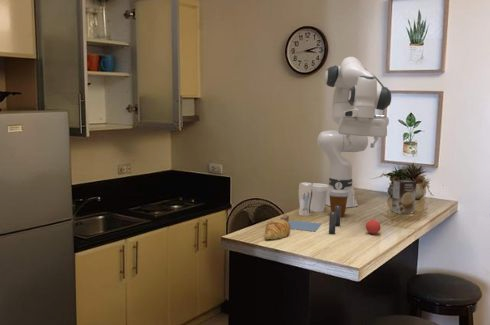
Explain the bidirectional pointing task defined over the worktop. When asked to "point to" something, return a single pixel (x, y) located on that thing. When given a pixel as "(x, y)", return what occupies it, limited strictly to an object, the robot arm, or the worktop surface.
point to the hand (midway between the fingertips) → (360, 146)
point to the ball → (373, 226)
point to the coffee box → (403, 196)
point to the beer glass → (305, 198)
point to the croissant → (277, 229)
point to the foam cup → (319, 197)
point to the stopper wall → (285, 218)
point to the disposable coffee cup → (338, 200)
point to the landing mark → (304, 225)
